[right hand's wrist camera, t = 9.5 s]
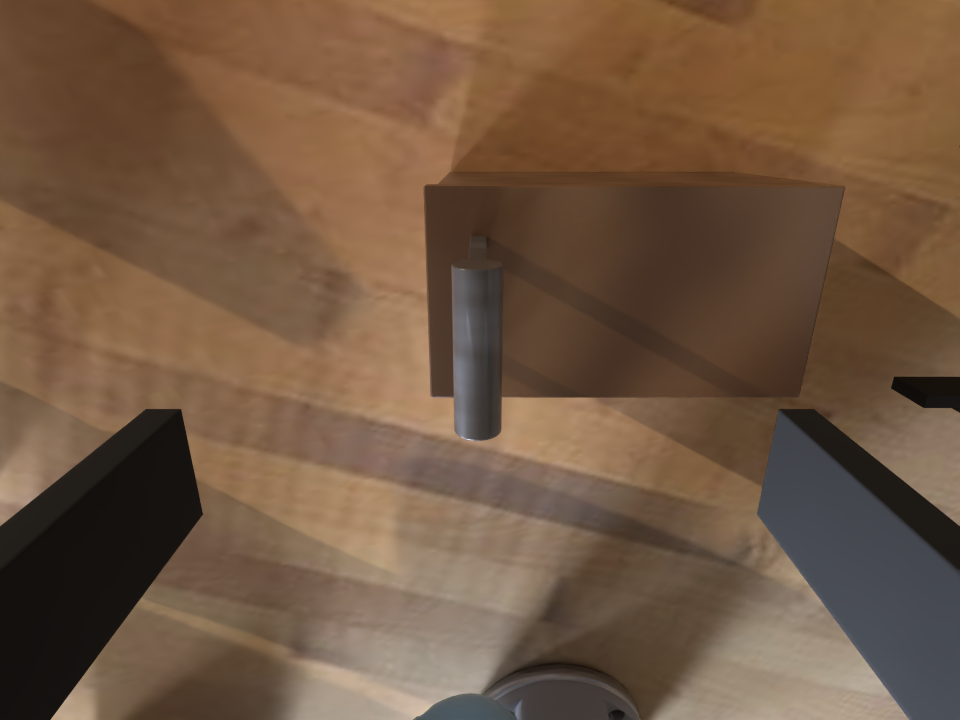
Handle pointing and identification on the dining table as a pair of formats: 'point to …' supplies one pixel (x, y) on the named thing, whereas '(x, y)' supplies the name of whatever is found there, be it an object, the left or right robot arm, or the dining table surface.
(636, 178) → the chest
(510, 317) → the lid
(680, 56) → the dining table surface
